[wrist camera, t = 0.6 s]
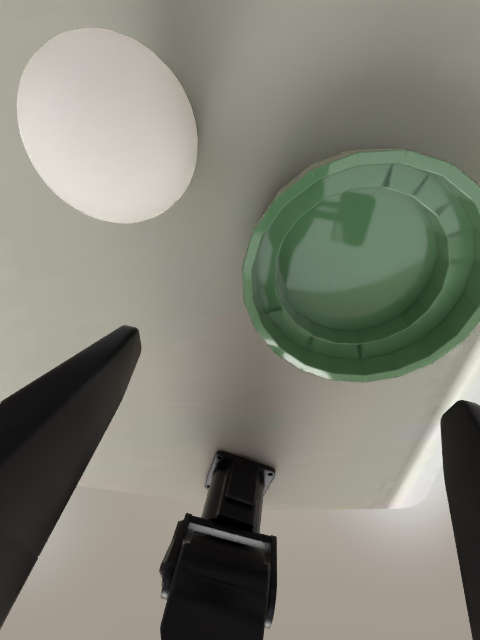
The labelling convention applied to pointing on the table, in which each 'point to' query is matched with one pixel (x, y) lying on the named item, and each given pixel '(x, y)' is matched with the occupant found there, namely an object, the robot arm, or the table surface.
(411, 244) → the bowl
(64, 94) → the light bulb
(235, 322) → the table surface
